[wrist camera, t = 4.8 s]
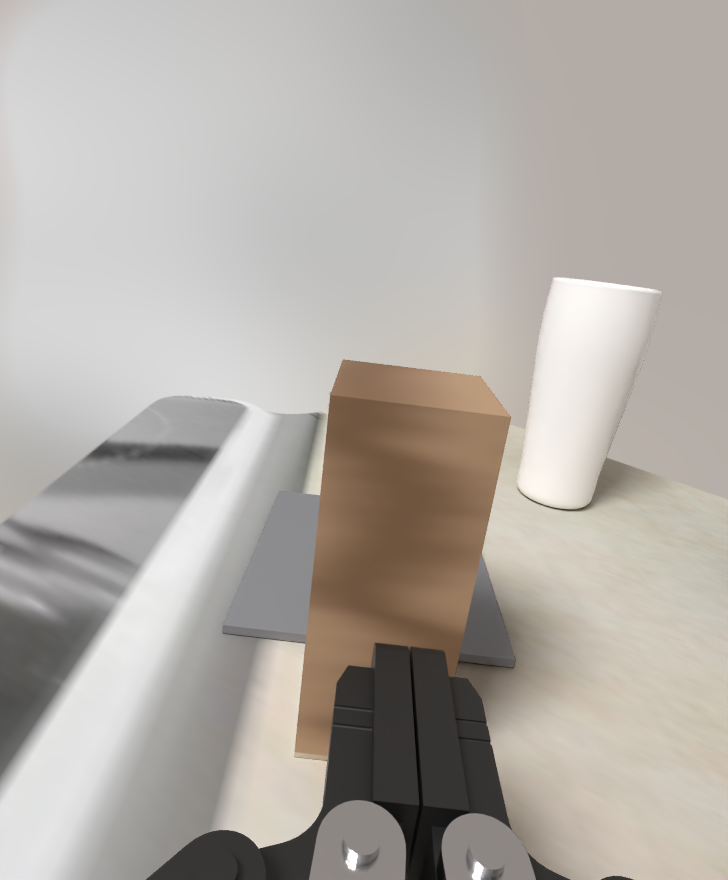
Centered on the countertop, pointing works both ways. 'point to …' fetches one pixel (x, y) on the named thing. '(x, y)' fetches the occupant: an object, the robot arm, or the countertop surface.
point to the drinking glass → (582, 385)
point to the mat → (290, 577)
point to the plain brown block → (396, 523)
